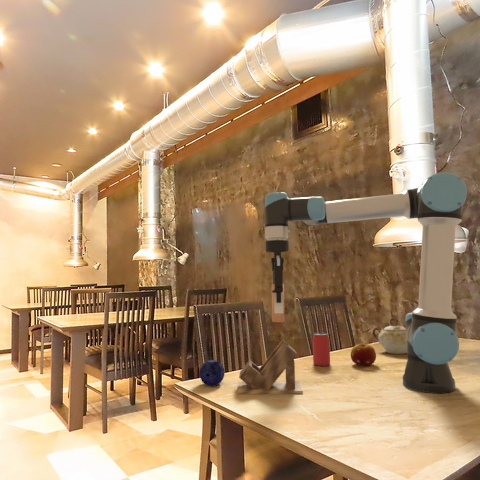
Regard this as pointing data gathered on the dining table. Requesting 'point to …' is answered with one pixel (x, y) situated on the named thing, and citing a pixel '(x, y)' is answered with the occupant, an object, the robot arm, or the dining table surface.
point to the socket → (271, 374)
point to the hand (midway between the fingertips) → (278, 312)
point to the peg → (277, 316)
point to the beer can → (321, 349)
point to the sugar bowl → (392, 338)
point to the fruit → (363, 354)
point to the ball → (211, 372)
